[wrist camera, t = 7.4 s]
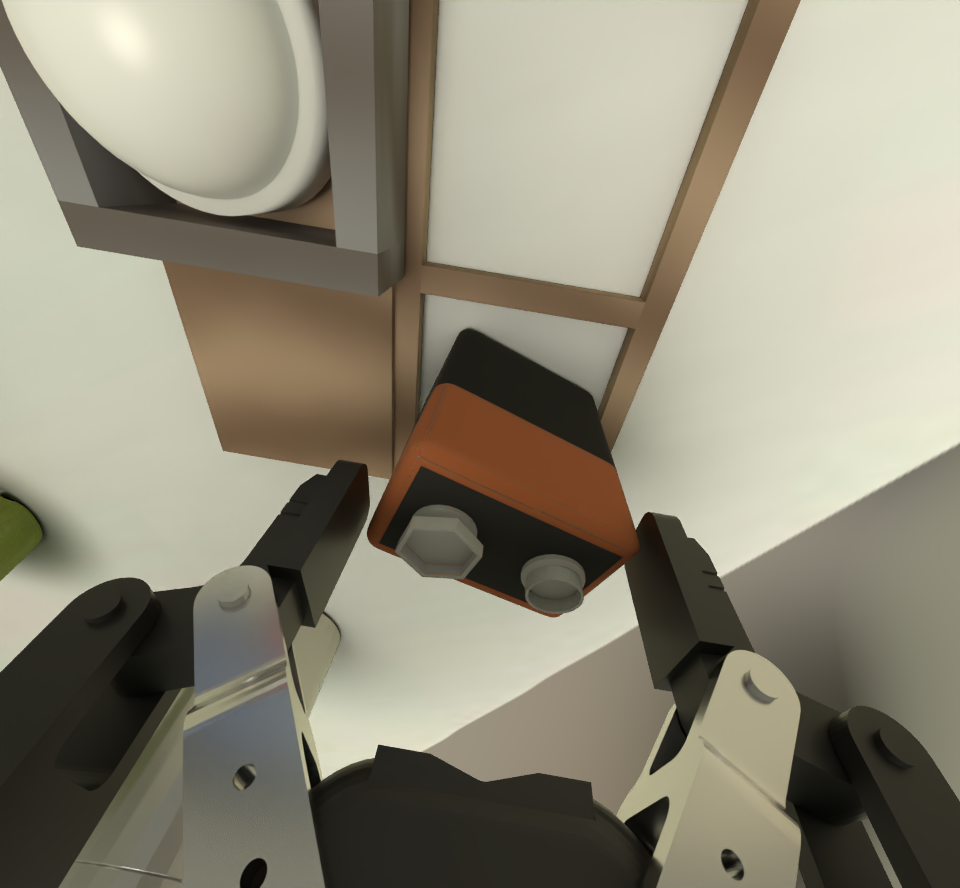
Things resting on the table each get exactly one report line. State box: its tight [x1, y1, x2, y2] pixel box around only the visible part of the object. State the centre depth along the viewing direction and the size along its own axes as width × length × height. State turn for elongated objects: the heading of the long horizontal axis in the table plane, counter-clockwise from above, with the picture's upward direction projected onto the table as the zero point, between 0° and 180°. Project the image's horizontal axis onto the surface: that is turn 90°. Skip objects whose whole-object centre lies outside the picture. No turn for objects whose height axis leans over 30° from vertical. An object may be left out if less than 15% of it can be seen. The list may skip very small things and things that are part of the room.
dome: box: [2, 0, 331, 216], centre depth 9 cm, size 6×6×6 cm
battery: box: [367, 329, 640, 617], centre depth 14 cm, size 4×7×10 cm, turn 63°
